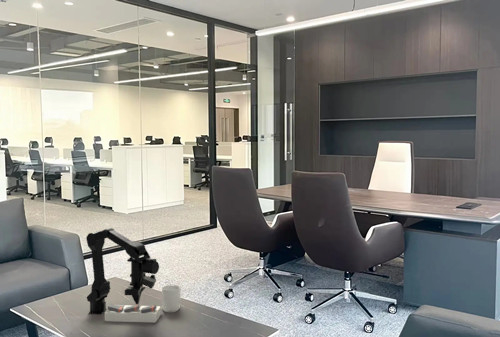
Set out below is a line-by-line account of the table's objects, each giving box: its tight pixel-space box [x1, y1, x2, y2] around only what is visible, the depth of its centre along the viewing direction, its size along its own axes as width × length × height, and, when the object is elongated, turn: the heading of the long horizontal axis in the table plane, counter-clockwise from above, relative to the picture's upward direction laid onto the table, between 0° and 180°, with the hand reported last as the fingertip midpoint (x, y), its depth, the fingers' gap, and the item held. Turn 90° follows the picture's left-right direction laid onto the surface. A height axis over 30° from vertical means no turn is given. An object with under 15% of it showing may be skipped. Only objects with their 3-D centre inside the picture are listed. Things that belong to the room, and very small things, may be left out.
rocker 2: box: [124, 304, 140, 313], centre depth 202 cm, size 6×3×2 cm, turn 88°
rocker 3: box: [141, 304, 157, 313], centre depth 202 cm, size 6×3×2 cm, turn 88°
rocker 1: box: [107, 303, 124, 312], centre depth 203 cm, size 6×3×2 cm, turn 87°
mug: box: [161, 284, 182, 313], centre depth 217 cm, size 12×9×11 cm
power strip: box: [104, 304, 162, 323], centre depth 204 cm, size 24×10×4 cm, turn 87°
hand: (137, 304), depth 202 cm, fingers closed
